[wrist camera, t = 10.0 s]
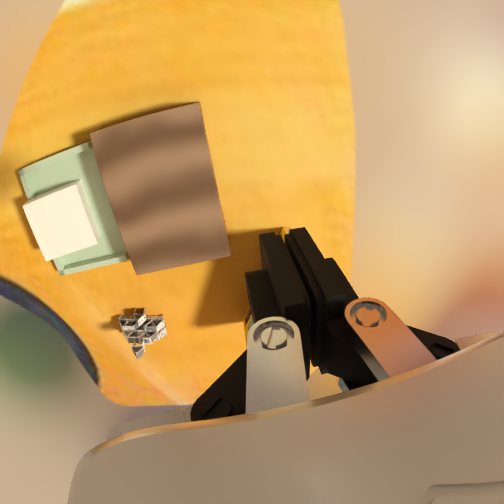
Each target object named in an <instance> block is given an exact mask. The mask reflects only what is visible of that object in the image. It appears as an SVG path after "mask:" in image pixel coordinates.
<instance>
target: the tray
mask: <svg viewBox="0 0 504 504" xmlns="http://www.w3.org/2000/svg"><path fill="white" fill-rule="evenodd" d="M18 172H19V176H20V179H21V182H22V185H23V188H24V190H25V193H26V196H27V199H28V200H30V199H32V198H34V197H37V196H39V195H41V194H44V193H46V192H49V191H51V190H53V189H56V188H58V187H61V186H64V185H66V184H69V183H71V182H74V181H77V180H79V179H81V182H82V185H83V188H84V191H85V194H86V197H87V200H88V203H89V206H90V208H91V211H92V214H93V217H94V219H95V222H96V225H97V228H98V230H99V233H100V235H101V236H100V239H99V242H98V244H96V245H93V246H90V247H87V248H84V249H81V250H78V251H75V252H72V253H69V254H66V255H63V256H60V257H57V258H55V259H53V261H54V263H55V265H56V267H57V269H58V271H59V273H60V276H62V275H67V274H71V273H75V272H80V271H84V270H89V269H93V268H97V267H102V266H106V265H111V264H115V263H120V262H124V261H127V260H128V257H129V254H128V252H127V249H126V247H125V244H124V241H123V238H122V236H121V233H120V230H119V227H118V225H117V222H116V219H115V216H114V213H113V210H112V207H111V204H110V201H109V198H108V195H107V192H106V189H105V186H104V183H103V179H102V176H101V173H100V170H99V166H98V163H97V159H96V156H95V152H94V149H93V145H92V141H88V142H86V143H83V144H80V145H77V146H75V147H72V148H69V149H67V150H64V151H62V152H59V153H57V154H54V155H52V156H49V157H47V158H44V159H42V160H40V161H37V162H35V163H33V164H30V165H28V166H26V167H24V168H22V169H20V170H19V171H18Z"/></svg>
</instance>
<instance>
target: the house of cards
mask: <svg viewBox="0 0 504 504" xmlns="http://www.w3.org/2000/svg"><path fill="white" fill-rule="evenodd" d="M145 315H146V314H145V308H144V312H143V314H137V312H136V308H135V312H134V316H131V315H121V314H120V318H119V319H118V321H119V325H120V327H121V329H122V332H123V335H124V336H125V337H126V339H127V341H128V343H134V344H133V346H131V347H132V350H133V352H134V354H135V356H136V358H137V359H138V360H139V358H140V357H141V356H142V355H143V354H144V353H145V350H144V346H145V344H152V343H153V342H154V341H155V340H160V339H161V338H162V337H163V336H167V334H166V323H164V318H163V316H145ZM136 343H140V344H142V346H136ZM135 352H138V353H137V354H136V353H135Z"/></svg>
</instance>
